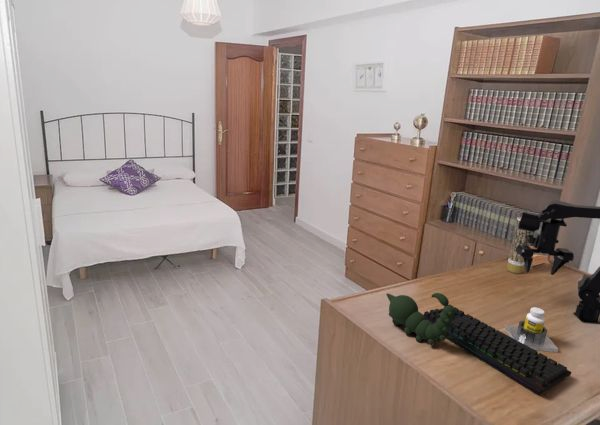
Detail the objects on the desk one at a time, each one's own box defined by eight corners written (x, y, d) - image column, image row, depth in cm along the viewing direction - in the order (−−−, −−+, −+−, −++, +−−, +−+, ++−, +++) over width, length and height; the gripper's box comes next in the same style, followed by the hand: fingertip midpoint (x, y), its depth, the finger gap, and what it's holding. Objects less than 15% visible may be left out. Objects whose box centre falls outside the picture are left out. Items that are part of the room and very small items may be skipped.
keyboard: (569, 380, 123) (573, 365, 122) (539, 400, 114) (543, 384, 113) (448, 312, 157) (450, 300, 155) (418, 324, 148) (420, 311, 146)
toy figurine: (451, 350, 136) (390, 310, 154) (466, 299, 129) (401, 263, 147) (433, 360, 130) (373, 317, 148) (448, 307, 124) (383, 269, 141)
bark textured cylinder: (524, 275, 192) (536, 222, 185) (508, 273, 193) (519, 220, 186) (520, 269, 198) (531, 217, 191) (504, 267, 200) (515, 216, 192)
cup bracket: (540, 331, 147) (543, 319, 145) (557, 352, 135) (561, 339, 134) (504, 328, 147) (507, 316, 146) (518, 348, 136) (521, 335, 135)
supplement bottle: (522, 338, 140) (528, 311, 137) (521, 330, 145) (527, 304, 142) (540, 343, 138) (547, 316, 135) (539, 334, 142) (546, 308, 140)
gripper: (563, 229, 164) (554, 267, 169) (514, 225, 165) (505, 263, 170) (579, 239, 154) (569, 279, 158) (526, 235, 155) (517, 275, 159)
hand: (539, 273), depth 162 cm, fingers open, 9 cm apart
